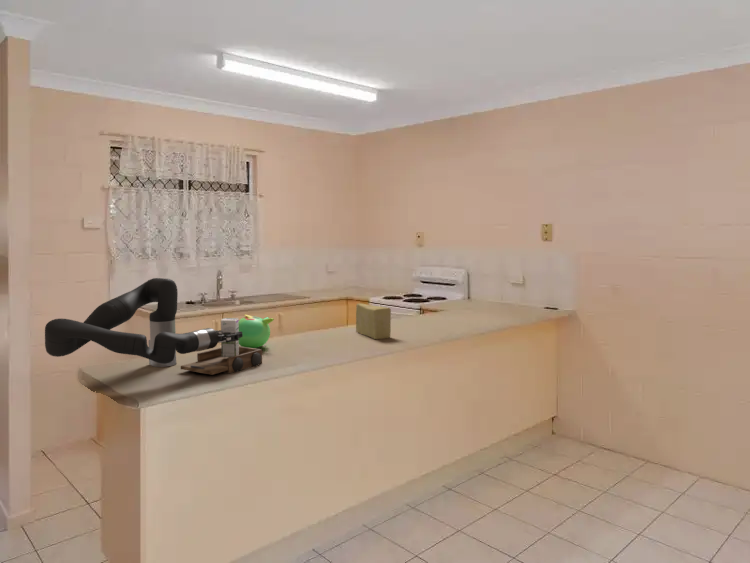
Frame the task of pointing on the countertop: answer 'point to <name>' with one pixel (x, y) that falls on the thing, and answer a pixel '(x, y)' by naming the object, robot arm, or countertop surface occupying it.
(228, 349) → the syrup box
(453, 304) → the countertop surface
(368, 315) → the olive rectangular block
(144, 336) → the robot arm
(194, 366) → the tailgate
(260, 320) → the green ball creature
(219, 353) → the cart
